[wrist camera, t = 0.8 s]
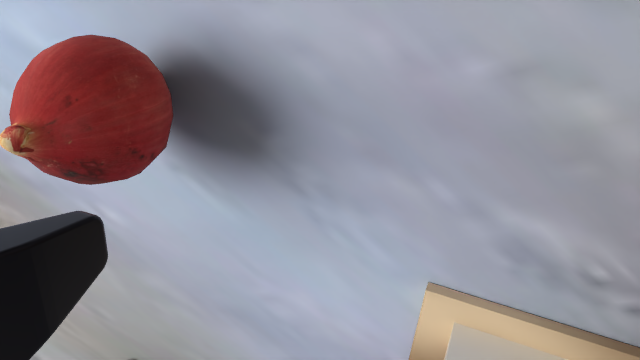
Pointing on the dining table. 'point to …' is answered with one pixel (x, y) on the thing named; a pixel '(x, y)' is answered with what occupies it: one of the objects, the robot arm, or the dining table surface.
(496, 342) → the tile
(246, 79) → the dining table surface
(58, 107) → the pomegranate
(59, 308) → the robot arm
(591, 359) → the cork pad
